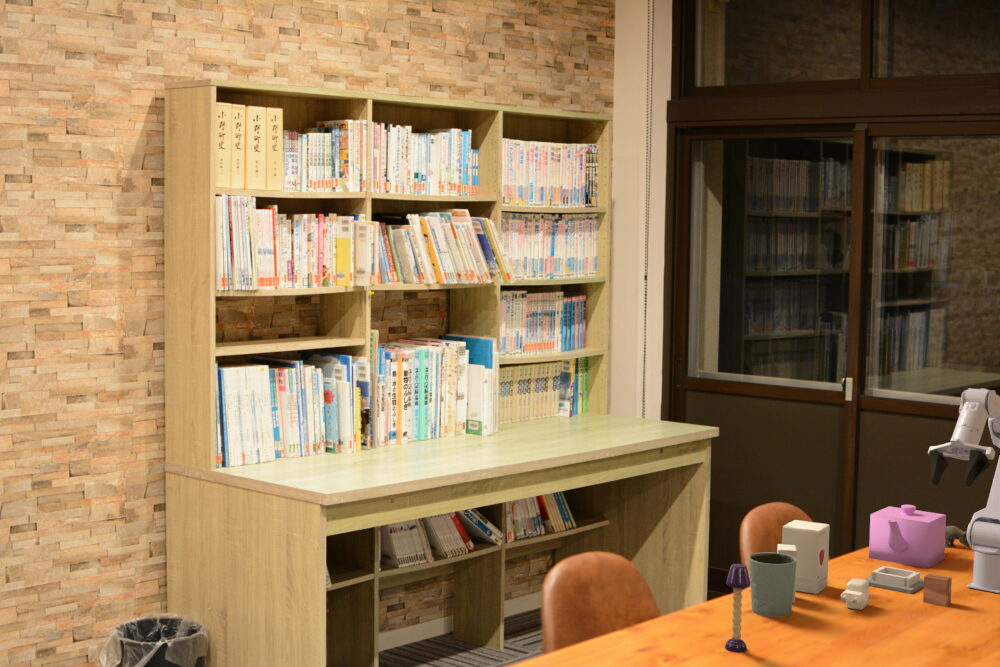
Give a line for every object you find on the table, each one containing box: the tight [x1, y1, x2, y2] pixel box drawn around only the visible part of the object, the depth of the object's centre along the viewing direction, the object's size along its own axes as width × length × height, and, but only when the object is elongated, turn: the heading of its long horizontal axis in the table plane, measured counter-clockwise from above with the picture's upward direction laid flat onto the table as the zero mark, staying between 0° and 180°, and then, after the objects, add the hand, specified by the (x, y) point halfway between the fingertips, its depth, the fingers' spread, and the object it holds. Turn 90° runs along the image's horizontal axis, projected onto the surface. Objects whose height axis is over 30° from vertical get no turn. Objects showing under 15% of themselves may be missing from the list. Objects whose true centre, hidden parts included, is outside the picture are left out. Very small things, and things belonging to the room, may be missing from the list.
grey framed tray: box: [864, 565, 924, 595], centre depth 282 cm, size 12×12×3 cm
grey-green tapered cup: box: [748, 551, 797, 618], centre depth 258 cm, size 10×10×12 cm
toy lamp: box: [724, 563, 751, 652], centre depth 233 cm, size 5×5×17 cm
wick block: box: [922, 573, 953, 607], centre depth 267 cm, size 4×5×6 cm
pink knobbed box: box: [868, 504, 947, 569], centre depth 306 cm, size 15×25×14 cm, turn 141°
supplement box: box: [781, 519, 831, 595], centre depth 278 cm, size 9×9×15 cm
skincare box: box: [776, 543, 797, 604], centre depth 268 cm, size 6×4×12 cm
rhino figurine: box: [945, 525, 971, 549], centre depth 320 cm, size 4×14×6 cm, turn 50°
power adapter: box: [840, 577, 870, 611], centre depth 261 cm, size 11×5×6 cm, turn 149°
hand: (950, 483), depth 257 cm, fingers open, 7 cm apart
